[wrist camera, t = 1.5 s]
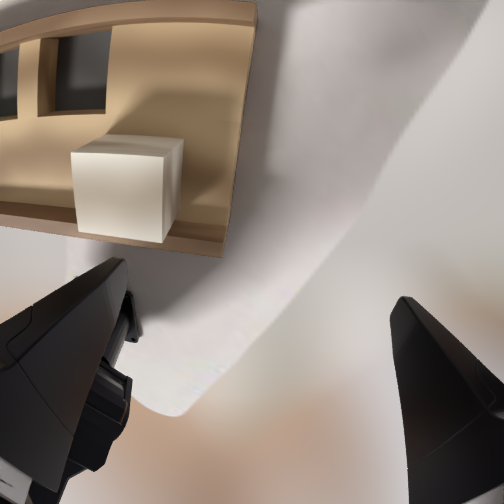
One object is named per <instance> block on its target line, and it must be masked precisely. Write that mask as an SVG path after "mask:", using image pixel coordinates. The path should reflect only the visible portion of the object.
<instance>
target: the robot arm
mask: <svg viewBox="0 0 504 504" xmlns="http://www.w3.org/2000/svg"><path fill="white" fill-rule="evenodd" d="M127 286H128V274H127V267H126V261H125V260H124V259H123V258H118V257H112V258H110V259H108V260H106V261H105V262H103V263H101V264H99V265H98V266H96V267H94V268H92V269H91V270H89V271H87V272H86V273H84V274H82V275H80V276H79V277H77V278H75V279H74V280H72V281H70V282H69V283H67V284H65V285H64V286H62V287H60V288H59V289H57V290H55V291H54V292H52V293H50V294H49V295H47V296H46V297H44V298H42V299H41V300H39V301H38V302H36V303H34V304H33V306H30V307H28V308H26V309H25V310H23V311H22V312H20V313H18V314H17V315H15V316H13V317H12V318H10V319H8V320H7V321H5V322H3V323H1V324H0V504H59V502H60V499H61V497H62V494H63V491H64V489H65V487H66V484H67V482H68V480H69V479H70V478H72V477H74V476H75V475H77V474H79V473H81V472H82V471H84V470H86V469H89V470H91V471H93V472H95V471H97V470H98V469H99V468H101V467H102V466H103V465H104V464H105V462H106V459H107V456H108V453H109V450H110V447H111V445H112V443H113V441H114V440H115V439H117V438H118V437H119V435H120V434H121V433H122V431H123V430H124V428H125V426H126V423H127V420H128V417H129V410H130V400H131V390H132V381H133V379H132V378H130V377H128V376H125V375H124V374H122V373H121V372H119V371H117V370H116V369H114V366H115V364H116V361H117V358H118V356H119V353H120V351H121V348H122V346H123V344H124V341H128V342H133V343H137V342H138V340H139V335H138V329H137V322H136V316H135V309H134V302H133V296H132V294H131V293H130V292H128V291H126V289H127ZM126 296H127V297H126ZM390 327H391V337H392V348H393V359H394V365H395V370H396V377H397V382H398V389H399V396H400V403H401V409H402V417H403V425H404V435H405V445H406V455H407V468H408V469H407V471H408V488H409V504H504V384H503V383H502V382H501V381H500V380H499V379H498V378H497V377H496V376H495V375H494V374H493V373H491V372H490V370H488V369H487V368H486V367H485V366H484V365H483V364H482V363H481V362H480V361H479V360H478V359H477V358H476V357H475V356H474V355H473V354H472V353H471V352H470V351H469V350H468V349H467V348H466V347H465V346H464V345H463V344H462V343H461V342H460V341H459V340H458V339H457V338H456V337H455V336H454V335H452V333H450V332H449V331H448V330H447V329H446V328H445V327H444V326H443V325H442V324H441V323H440V322H439V321H437V319H435V318H434V317H433V316H432V315H431V314H430V313H429V312H428V311H427V310H426V309H424V308H423V307H422V306H421V305H420V304H419V303H418V302H417V301H415V300H414V299H413V298H412V297H406V296H401V297H400V298H399V299H398V301H397V303H396V305H395V307H394V309H393V311H392V312H391V315H390Z"/></svg>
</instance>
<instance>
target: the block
mask: <svg viewBox="0 0 504 504" xmlns="http://www.w3.org/2000/svg"><path fill="white" fill-rule="evenodd" d="M183 148H184V138H173V137H159V136H141V135H116V134H105V135H103V136H101V137H99V138H97V139H95V140H93V141H91V142H89V143H87V144H85V145H83V146H82V147H80V148H78V149H76V150H74V151H72V152H71V166H72V179H73V190H74V200H75V208H76V216H77V224H78V231H79V232H85V233H92V234H99V235H106V236H113V237H121V238H128V239H135V240H142V241H149V242H157V243H163V241H164V239H165V237H166V235H167V233H168V231H169V230H170V228H171V226H172V224H173V222H174V220H175V218H176V216H177V215H178V213H179V211H180V200H181V180H182V163H183Z"/></svg>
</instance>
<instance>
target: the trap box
mask: <svg viewBox="0 0 504 504" xmlns="http://www.w3.org/2000/svg"><path fill="white" fill-rule="evenodd" d="M257 21H258V15H257V4H256V3H254V2H244V1H233V0H145V1H133V2H124V3H115V4H108V5H101V6H95V7H89V8H84V9H79V10H74V11H69V12H65V13H61V14H56V15H52V16H49V17H45V18H41V19H38V20H34V21H31V22H28V23H24V24H21V25H18V26H15V27H12V28H9V29H7V30H4V31H1V32H0V226H6V227H12V228H19V229H26V230H32V231H38V232H45V233H51V234H58V235H65V236H71V237H78V238H85V239H91V240H98V241H105V242H112V243H119V244H126V245H133V246H140V247H147V248H154V249H161V250H168V251H175V252H182V253H189V254H196V255H204V256H211V257H218V258H222V255H223V250H224V245H225V240H226V236H227V231H228V226H229V220H230V212H231V204H232V196H233V188H234V180H235V172H236V164H237V157H238V149H239V142H240V134H241V127H242V120H243V113H244V106H245V99H246V92H247V85H248V78H249V72H250V65H251V59H252V52H253V46H254V39H255V33H256V27H257ZM105 134H116V135H141V136H159V137H173V138H184V148H183V163H182V180H181V200H180V211H179V213H178V215H177V216H176V218H175V220H174V222H173V224H172V226H171V228H170V230H169V231H168V233H167V235H166V237H165V239H164V241H163V243H157V242H149V241H142V240H135V239H128V238H121V237H113V236H106V235H99V234H92V233H85V232H79V231H78V224H77V216H76V208H75V200H74V190H73V179H72V166H71V152H72V151H74V150H76V149H78V148H80V147H82V146H83V145H85V144H87V143H89V142H91V141H93V140H95V139H97V138H99V137H101V136H103V135H105Z"/></svg>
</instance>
